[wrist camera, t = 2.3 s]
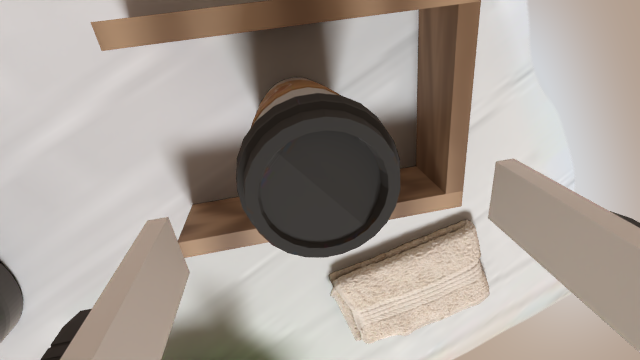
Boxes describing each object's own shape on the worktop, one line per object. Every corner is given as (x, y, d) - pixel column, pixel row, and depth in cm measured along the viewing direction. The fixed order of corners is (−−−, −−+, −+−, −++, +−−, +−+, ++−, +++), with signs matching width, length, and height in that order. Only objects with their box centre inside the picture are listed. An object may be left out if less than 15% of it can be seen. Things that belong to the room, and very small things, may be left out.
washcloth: (321, 272, 37) (325, 292, 34) (467, 211, 36) (483, 226, 34) (354, 334, 42) (360, 355, 40) (482, 281, 42) (497, 300, 39)
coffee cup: (294, 40, 26) (326, 57, 12) (362, 111, 29) (445, 186, 16) (227, 116, 27) (191, 203, 14) (298, 175, 31) (323, 290, 17)
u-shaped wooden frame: (197, 217, 31) (182, 258, 26) (130, 23, 23) (90, 22, 18) (429, 176, 33) (461, 206, 28) (437, -16, 25) (483, -27, 20)
